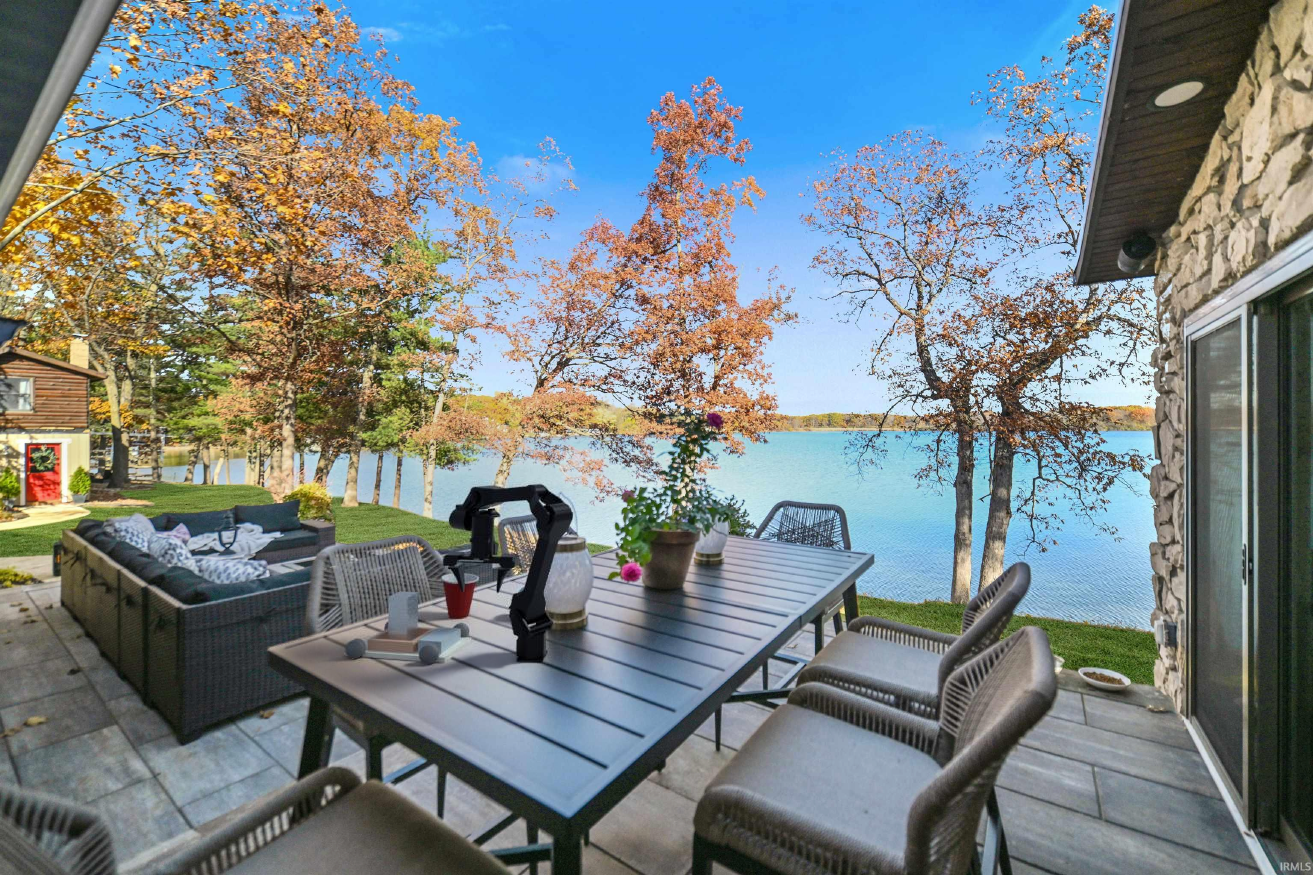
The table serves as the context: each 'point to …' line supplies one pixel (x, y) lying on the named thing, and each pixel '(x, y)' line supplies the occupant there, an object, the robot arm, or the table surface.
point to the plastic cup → (459, 595)
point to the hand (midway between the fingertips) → (480, 592)
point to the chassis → (413, 645)
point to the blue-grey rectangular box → (403, 616)
